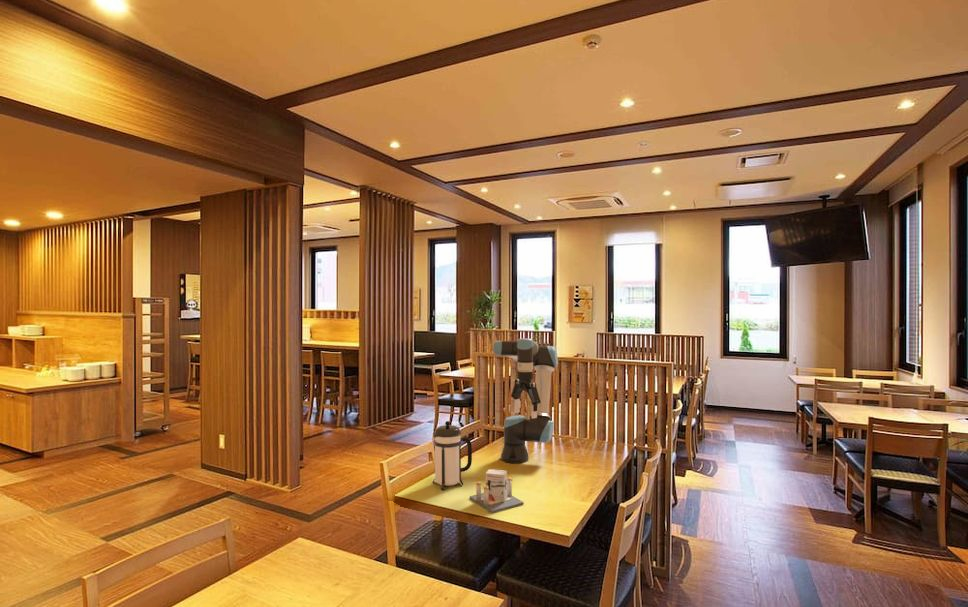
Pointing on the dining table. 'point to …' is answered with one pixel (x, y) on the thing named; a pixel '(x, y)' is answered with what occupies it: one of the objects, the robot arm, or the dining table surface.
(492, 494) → the ink box
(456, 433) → the coffee press
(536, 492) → the dining table surface
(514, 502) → the header pad
